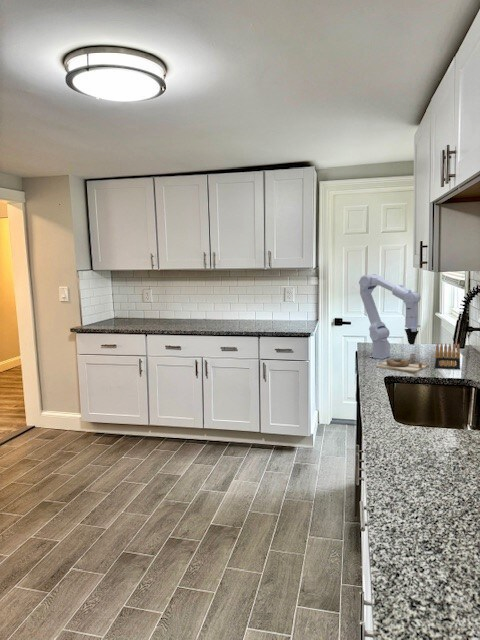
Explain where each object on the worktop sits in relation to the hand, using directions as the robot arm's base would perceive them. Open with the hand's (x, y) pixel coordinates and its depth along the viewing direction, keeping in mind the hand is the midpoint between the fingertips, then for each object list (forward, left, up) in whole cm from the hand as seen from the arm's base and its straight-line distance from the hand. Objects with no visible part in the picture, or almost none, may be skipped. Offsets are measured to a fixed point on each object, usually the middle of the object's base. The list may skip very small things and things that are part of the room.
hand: (411, 343), depth 220 cm
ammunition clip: (+1, +18, -10) cm, 21 cm away
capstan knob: (+10, 0, -8) cm, 13 cm away
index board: (+11, +1, -9) cm, 15 cm away
